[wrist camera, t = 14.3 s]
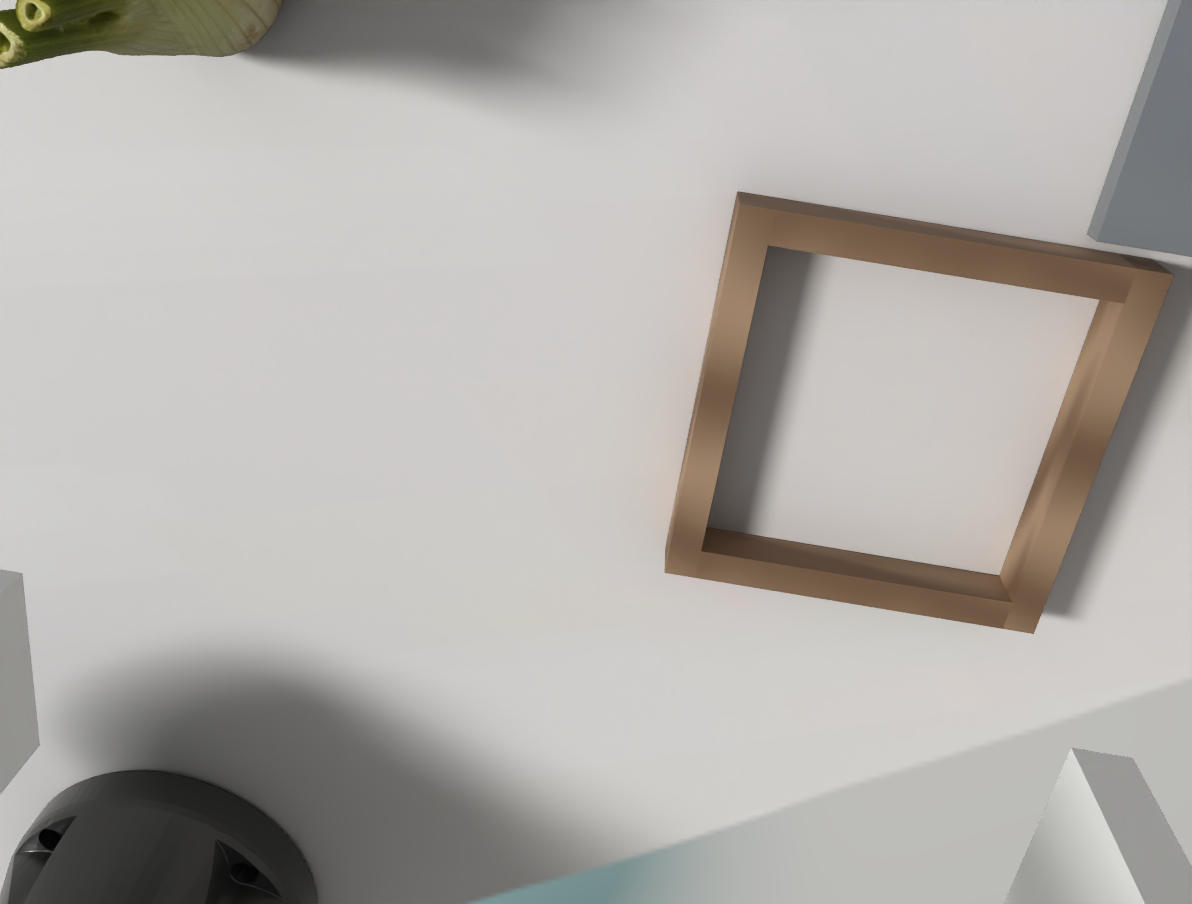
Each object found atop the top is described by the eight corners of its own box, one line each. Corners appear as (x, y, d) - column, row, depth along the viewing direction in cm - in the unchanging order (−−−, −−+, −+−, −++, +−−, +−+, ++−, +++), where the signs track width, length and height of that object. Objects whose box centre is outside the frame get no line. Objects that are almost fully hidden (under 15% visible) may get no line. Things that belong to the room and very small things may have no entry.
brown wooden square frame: (1019, 606, 45) (1033, 633, 44) (665, 547, 45) (664, 572, 44) (1151, 259, 39) (1173, 274, 37) (737, 191, 39) (739, 203, 37)
